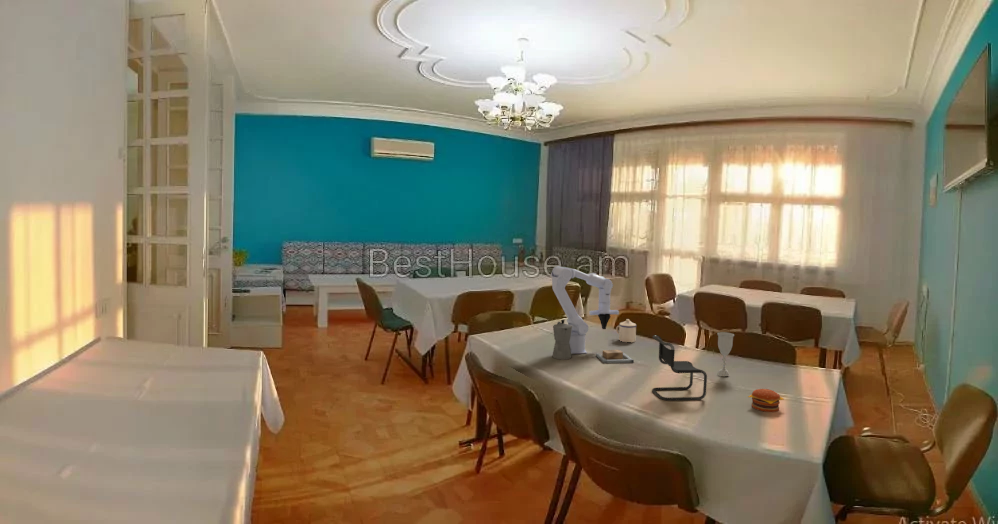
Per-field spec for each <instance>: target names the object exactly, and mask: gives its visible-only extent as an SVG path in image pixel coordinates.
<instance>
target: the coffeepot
mask: <svg viewBox="0 0 998 524" xmlns="http://www.w3.org/2000/svg"><path fill="white" fill-rule="evenodd" d="M552 328H553V330H552V331H553V337H554V341H555V342H554V346H553V352H552V358H554V359H557V360H569V359H571V358H572V354H571V349H570V344H569V340H570V337H571V331H572V326H571V325H568V323H565V319H561V321H558V322H557V323H556V324H553V325H552Z"/></svg>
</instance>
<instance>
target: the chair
mask: <svg viewBox="0 0 998 524" xmlns="http://www.w3.org/2000/svg"><path fill="white" fill-rule="evenodd" d="M652 339H653V340H655V341H657V342H658V344H659V345H658V360H659V362H660V363H661V364H663V365H667V366H668V367H669V368H670V369H671V371H672V372H674V373H677V374H689V384H688V386H678V387H677V386H676V387H675V386H674V387H673V386H672V387H671V386H670V387H654V388H652V389H651V391H652V393H653V394H654V395H655V396H656V397H658V398H659V399H660V400H663V401H670V402H671V401H672V402H673V401H700V400H704V398H705V397H706V395H707V386H708V385H707V383H708V376H707V375H708V374H707V372H706V371H705V370H703V369H699V368H697V367H695V366H694V364H693V363H692V362H691V361H690V360H689V361H688V360H675V353H676V352H675V346H674V345H673V344H672V343H671V342H665V341H664V340H663V339H662V338H661V336H659V335H652ZM668 347H670V348H668ZM694 374H703V390H702V394H701V395H700V396H695V397H694V396H693V397H692V396H687V397H686V396H685V397H684V396H683V397H682V396H680V397H666V396H662V395H661V394H659V393H658V392H657V391H687V390H690V389H691V388H692V386H693V380H694Z"/></svg>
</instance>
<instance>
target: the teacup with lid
mask: <svg viewBox="0 0 998 524" xmlns="http://www.w3.org/2000/svg"><path fill="white" fill-rule="evenodd" d="M615 330H616V333H617V335H618V340H620V342H621V341H622V342H621V343H627V342H631V343H635V342H636V339H637V338H636V336H637V335H636V334H637V324H636V323H634V322H632V321H631V320H630V319H629V318H626V320H625V321H621V322H619V324H618V325H617V326H616V327H615Z"/></svg>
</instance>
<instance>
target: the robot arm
mask: <svg viewBox="0 0 998 524" xmlns="http://www.w3.org/2000/svg"><path fill="white" fill-rule="evenodd" d="M550 277H551V285H552V287H551V288H552V291H553V292H554V295H555V296H556V298H557V300H558V302H559V305H560V306H561V308H562V309H563V312H564V313H565V315H566V318H567V320H566V322H567V324H568V325H571V326H572V331H571V337H570V340H569V344H570V349H571V355H573V354H574V355H575V354H588V352H587V350H586V336H587V333H588V332H589V325H588V323H586V321H584V319H583V318H582V317H581V316H580V315H579V314H578V311H577V310H576V308H575V306H574V304H573V302H572V300H571V298H570V296H569V294H568V292H567V290H566V286H567V285H568V283H569V282H570V281H571V279H574V278H577V279H581V280H584V281H585V282H586V284H587V285H589V286H592V287H595V288H597V289H598V309H595V310H589V316H597V317H598V320H599V322H600V324H601V329H602V330H606V329H607V325H608V323H609V321H610V319H611V315H619V314H620V311H619V310H618V309H611V293H612V289H613V287H614V283H613V282H612V280H611V279H609V278H605V276H603V275H598V274H597V272H590V273H585V272H582V271H580V270H578V269H575V268H571V267H565V266H561V265H556V266H554V267H553V268H552V271H551V273H550Z"/></svg>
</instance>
